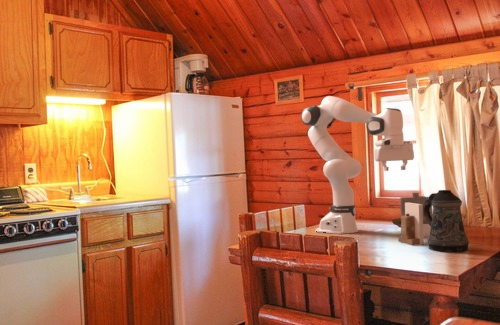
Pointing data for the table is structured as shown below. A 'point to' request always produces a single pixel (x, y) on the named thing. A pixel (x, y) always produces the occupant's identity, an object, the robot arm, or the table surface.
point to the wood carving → (425, 224)
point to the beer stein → (445, 223)
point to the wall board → (417, 212)
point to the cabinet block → (407, 226)
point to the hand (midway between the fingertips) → (394, 170)
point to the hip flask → (414, 199)
